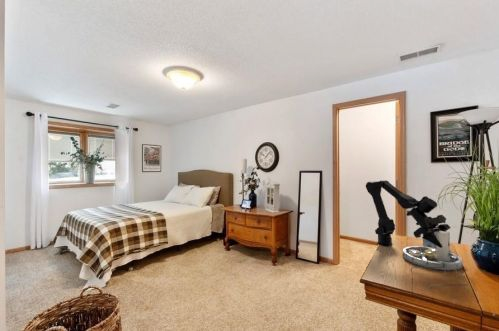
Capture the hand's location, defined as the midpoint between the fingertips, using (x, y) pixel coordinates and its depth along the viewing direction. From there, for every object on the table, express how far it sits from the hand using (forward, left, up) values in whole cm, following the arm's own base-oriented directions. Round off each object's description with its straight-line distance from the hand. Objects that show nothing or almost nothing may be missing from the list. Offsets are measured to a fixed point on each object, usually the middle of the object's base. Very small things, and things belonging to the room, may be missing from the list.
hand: (445, 246), depth 112 cm
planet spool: (-1, 0, -7) cm, 7 cm away
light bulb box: (-12, +23, -10) cm, 28 cm away
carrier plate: (-7, +3, -10) cm, 12 cm away
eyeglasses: (+4, -18, -10) cm, 21 cm away
